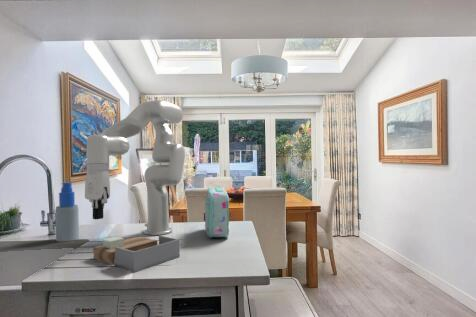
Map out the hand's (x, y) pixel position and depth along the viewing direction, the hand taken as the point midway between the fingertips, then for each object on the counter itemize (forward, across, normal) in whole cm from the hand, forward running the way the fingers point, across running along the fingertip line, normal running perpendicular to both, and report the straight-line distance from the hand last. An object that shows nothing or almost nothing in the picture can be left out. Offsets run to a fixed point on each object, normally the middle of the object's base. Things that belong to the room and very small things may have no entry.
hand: (98, 218), depth 113 cm
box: (+13, +22, +5) cm, 26 cm away
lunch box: (+12, +16, +47) cm, 51 cm away
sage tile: (+9, +9, +1) cm, 13 cm away
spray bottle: (+13, -34, +4) cm, 37 cm away
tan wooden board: (+13, +10, +5) cm, 17 cm away
